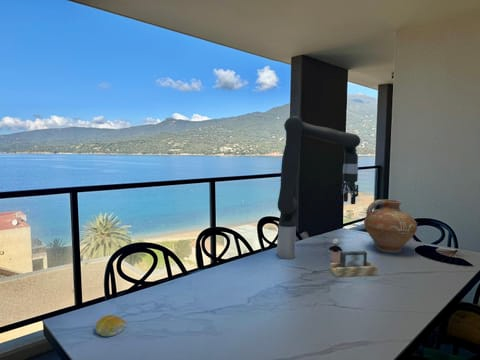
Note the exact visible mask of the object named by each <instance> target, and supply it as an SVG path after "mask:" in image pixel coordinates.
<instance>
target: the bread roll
mask: <svg viewBox="0 0 480 360" xmlns="http://www.w3.org/2000/svg"><path fill="white" fill-rule="evenodd" d="M125 328H126V321H125V320H124V319H123V318H121V317H117V316H116V315H114V314H109V315H105V316H103V317H101V318H99V319H98V321H97V322H96V325H95V328H94V329H95V333H96V334H97V335H98V336H99V335H101V336H102V337H105V338H106V337H114V336H115V335H118V334H121V333H122V332H123V331H124V330H125Z"/></svg>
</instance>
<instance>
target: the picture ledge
mask: <svg viewBox="0 0 480 360" xmlns="http://www.w3.org/2000/svg"><path fill="white" fill-rule="evenodd" d="M329 271H330V273H332V274H333V275H334V276H335V277H337V278H344V277H345V278H346V277H366V276H367V277H368V276H370V277H371V276H378V275H379V266H377V265H372V262H371V261H367V263H366V266H360V267H340V263H337V262H336V263H332V262H330V263H329Z"/></svg>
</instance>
